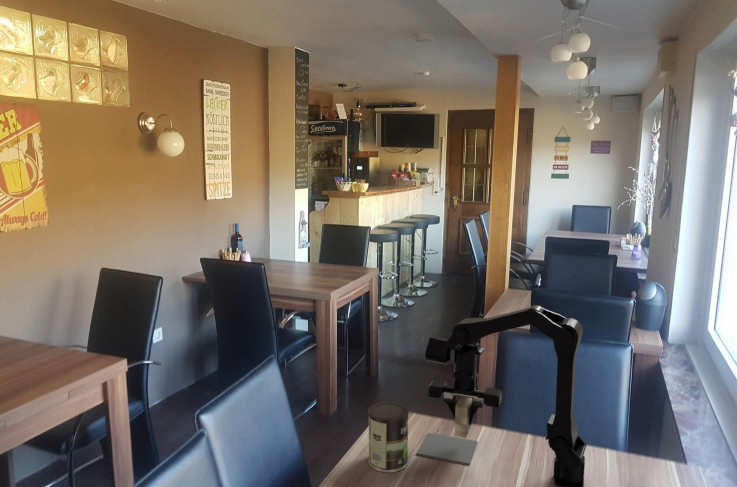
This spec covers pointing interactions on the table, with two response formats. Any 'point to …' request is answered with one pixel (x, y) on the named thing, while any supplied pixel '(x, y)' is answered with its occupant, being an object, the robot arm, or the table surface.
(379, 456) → the coffee can
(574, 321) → the robot arm
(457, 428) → the beech board
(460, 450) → the slate mat
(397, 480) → the table surface
